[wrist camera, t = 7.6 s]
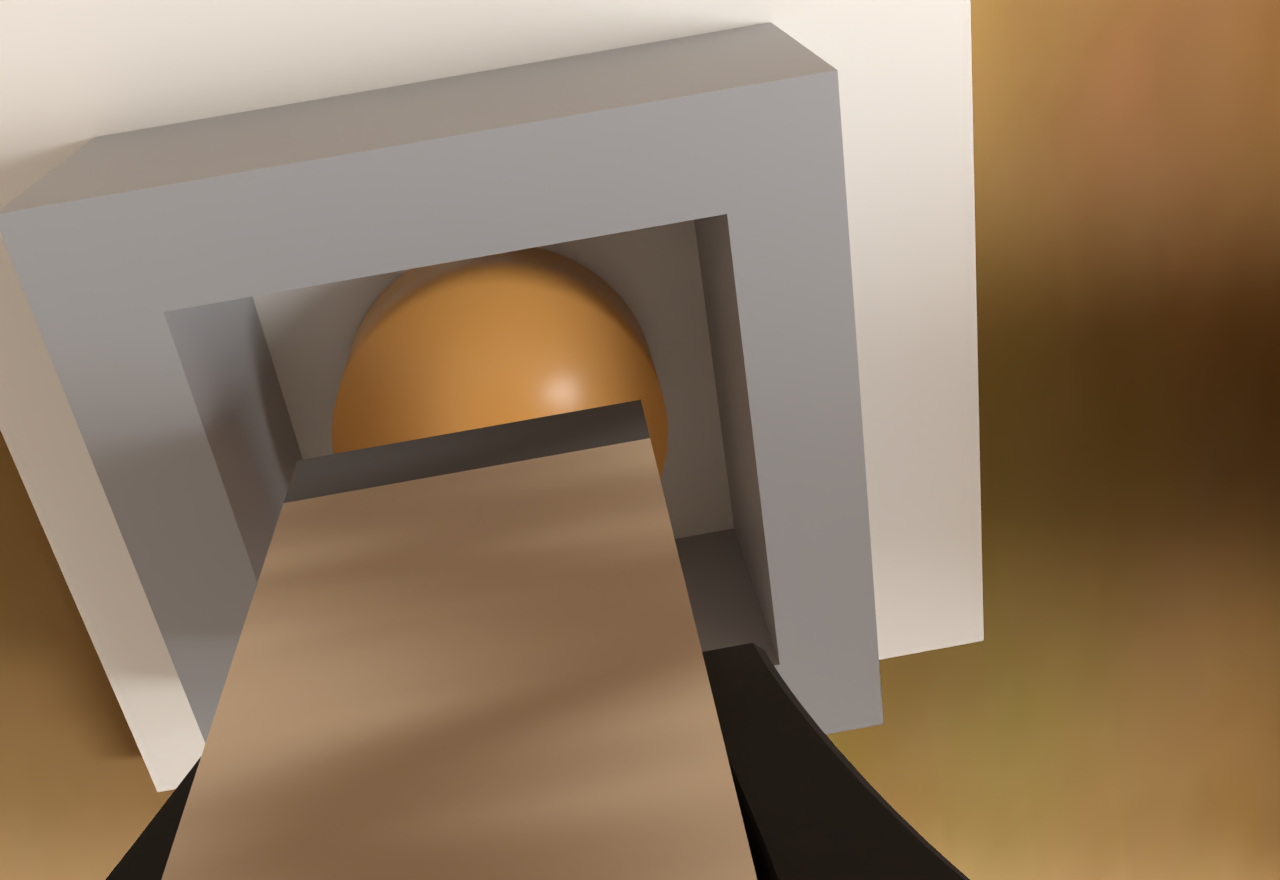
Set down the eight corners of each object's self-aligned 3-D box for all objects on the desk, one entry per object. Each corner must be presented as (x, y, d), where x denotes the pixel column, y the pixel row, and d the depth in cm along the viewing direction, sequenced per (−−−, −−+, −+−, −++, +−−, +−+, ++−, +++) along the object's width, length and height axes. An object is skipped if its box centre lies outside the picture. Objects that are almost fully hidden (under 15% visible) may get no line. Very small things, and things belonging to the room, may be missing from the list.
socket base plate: (943, -162, 18) (1088, -158, 14) (966, 611, 24) (1069, 785, 20) (-140, 19, 18) (-355, 83, 13) (170, 756, 24) (95, 966, 20)
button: (630, 218, 19) (642, 256, 17) (672, 494, 21) (687, 552, 20) (309, 273, 19) (291, 317, 17) (387, 546, 21) (378, 609, 19)
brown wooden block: (640, 400, 14) (822, 1148, 6) (685, 674, 16) (870, 1529, 8) (297, 460, 14) (23, 1301, 6) (381, 729, 16) (257, 1650, 8)
